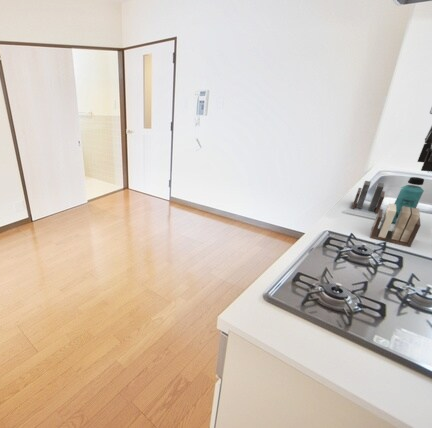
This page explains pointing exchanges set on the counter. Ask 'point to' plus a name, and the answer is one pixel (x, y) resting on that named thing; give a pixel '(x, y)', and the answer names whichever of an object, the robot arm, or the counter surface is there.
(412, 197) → the beverage bottle
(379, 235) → the cream book
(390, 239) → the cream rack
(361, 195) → the grey rack
